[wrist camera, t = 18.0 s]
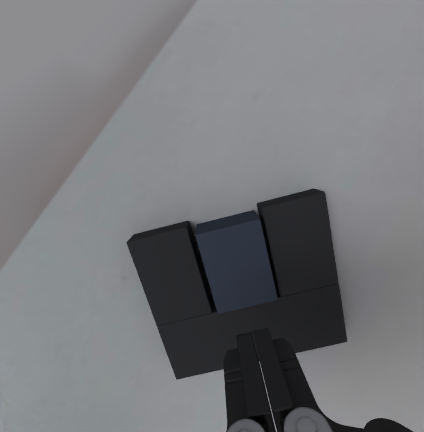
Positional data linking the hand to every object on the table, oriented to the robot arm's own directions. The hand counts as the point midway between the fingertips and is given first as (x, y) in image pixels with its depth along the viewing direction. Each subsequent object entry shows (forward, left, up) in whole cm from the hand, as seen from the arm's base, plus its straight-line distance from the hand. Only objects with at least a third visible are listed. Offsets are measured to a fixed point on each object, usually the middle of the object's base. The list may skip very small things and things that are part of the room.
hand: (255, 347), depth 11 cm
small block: (0, 0, -11) cm, 11 cm away
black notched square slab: (+3, 0, -11) cm, 12 cm away
